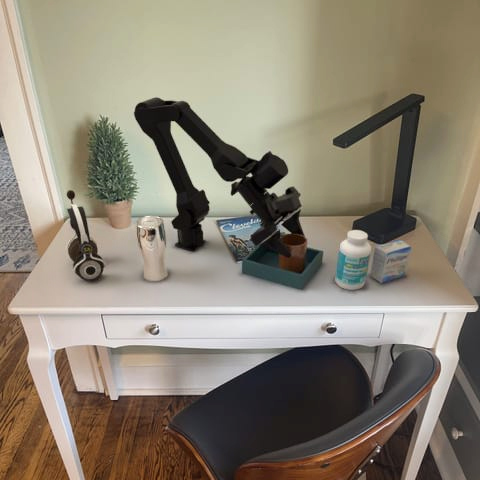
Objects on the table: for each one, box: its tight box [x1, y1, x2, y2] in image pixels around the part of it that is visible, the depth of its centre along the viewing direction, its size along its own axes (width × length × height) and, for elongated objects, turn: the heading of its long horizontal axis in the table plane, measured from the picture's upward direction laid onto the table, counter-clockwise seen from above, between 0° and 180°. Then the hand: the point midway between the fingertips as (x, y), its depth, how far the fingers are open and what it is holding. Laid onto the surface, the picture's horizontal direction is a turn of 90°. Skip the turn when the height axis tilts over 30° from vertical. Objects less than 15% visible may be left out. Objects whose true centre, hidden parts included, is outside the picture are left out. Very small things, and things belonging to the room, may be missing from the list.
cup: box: [278, 233, 308, 274], centre depth 126 cm, size 7×7×9 cm
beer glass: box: [134, 215, 169, 282], centre depth 122 cm, size 7×7×15 cm
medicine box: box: [369, 239, 412, 284], centre depth 124 cm, size 8×4×9 cm, turn 117°
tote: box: [241, 242, 324, 291], centre depth 128 cm, size 17×14×4 cm
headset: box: [66, 189, 106, 282], centre depth 123 cm, size 17×8×20 cm, turn 24°
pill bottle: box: [334, 229, 372, 291], centre depth 120 cm, size 8×7×14 cm
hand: (297, 248), depth 124 cm, fingers open, 9 cm apart
